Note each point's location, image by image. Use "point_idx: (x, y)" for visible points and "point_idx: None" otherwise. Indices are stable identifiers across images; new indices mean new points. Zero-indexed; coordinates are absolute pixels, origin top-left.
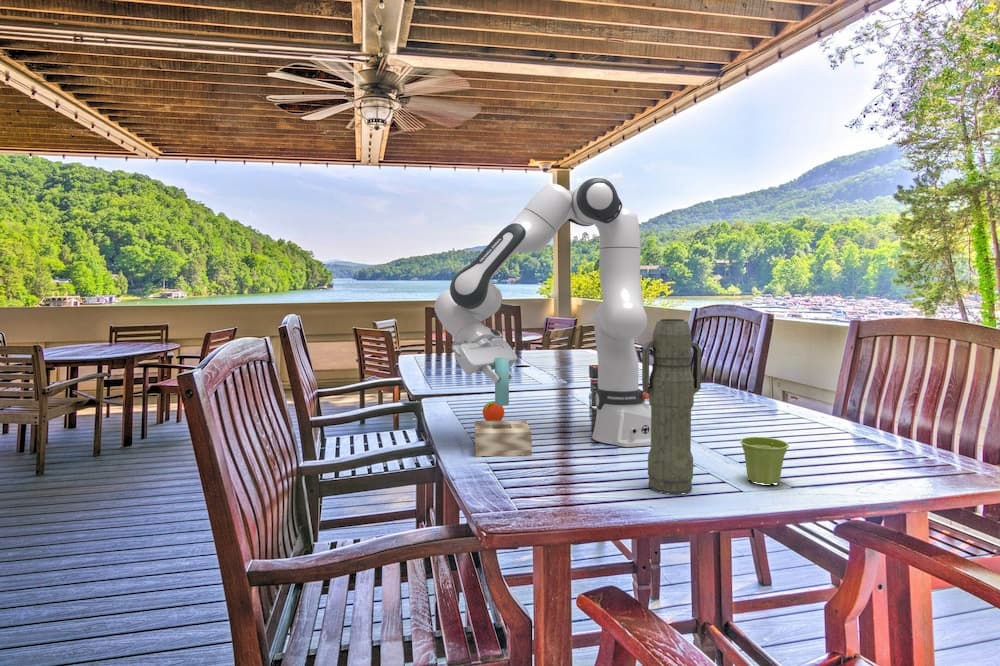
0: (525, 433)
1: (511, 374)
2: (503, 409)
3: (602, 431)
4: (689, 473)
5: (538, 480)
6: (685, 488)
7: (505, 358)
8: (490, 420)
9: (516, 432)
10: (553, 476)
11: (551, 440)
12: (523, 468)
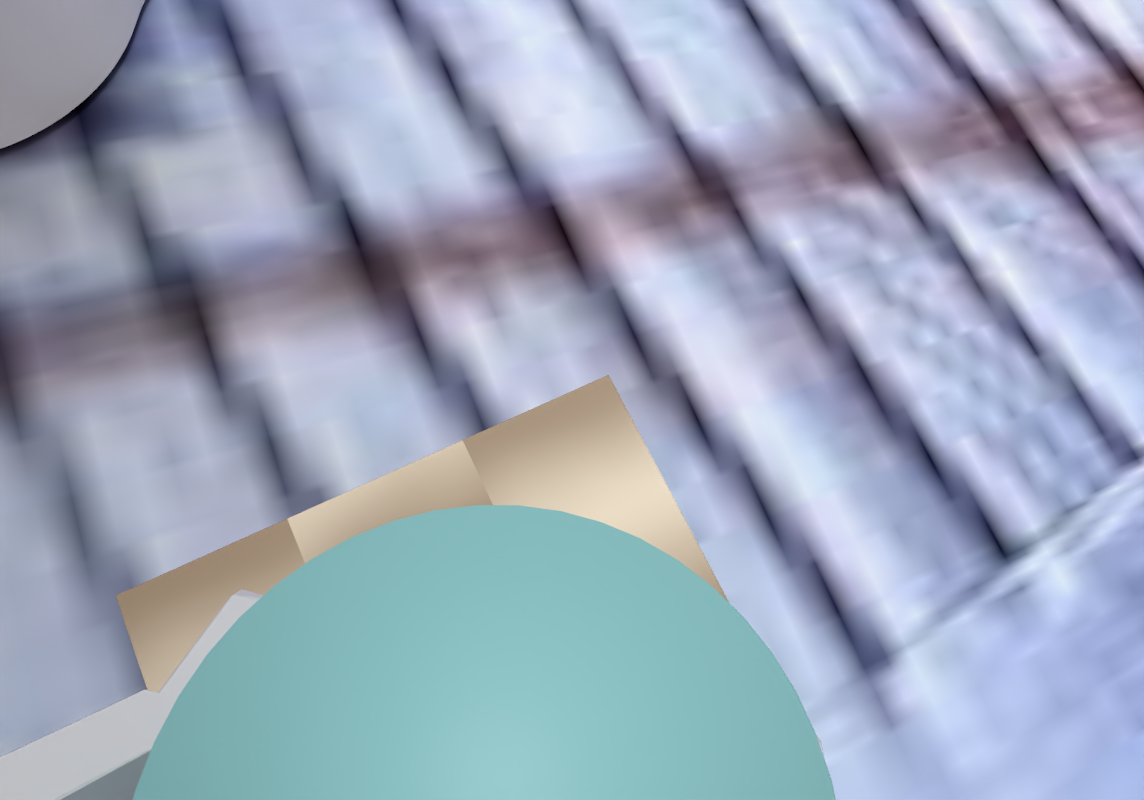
0: (632, 424)
1: (225, 611)
2: None
3: (46, 22)
4: None
5: (1032, 248)
6: None
7: (512, 642)
8: None
9: (670, 493)
10: (930, 196)
11: (97, 425)
12: (877, 391)
